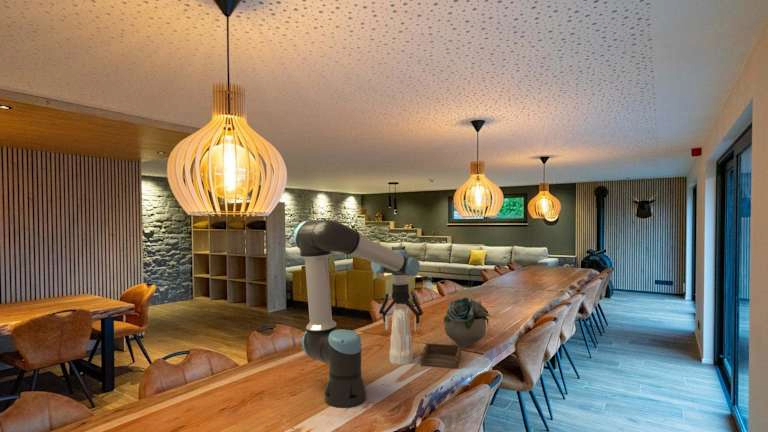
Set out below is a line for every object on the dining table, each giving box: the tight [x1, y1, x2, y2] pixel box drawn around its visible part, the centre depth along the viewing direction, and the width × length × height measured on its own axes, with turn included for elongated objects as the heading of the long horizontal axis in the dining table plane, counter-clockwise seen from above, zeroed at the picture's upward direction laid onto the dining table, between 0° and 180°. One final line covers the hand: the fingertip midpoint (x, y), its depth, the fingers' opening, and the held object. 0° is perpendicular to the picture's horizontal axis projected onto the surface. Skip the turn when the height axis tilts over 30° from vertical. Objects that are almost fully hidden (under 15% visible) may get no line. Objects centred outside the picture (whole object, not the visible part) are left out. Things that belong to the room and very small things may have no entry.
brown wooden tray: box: [420, 343, 462, 370], centre depth 186 cm, size 17×16×5 cm
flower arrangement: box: [443, 297, 491, 348], centre depth 210 cm, size 25×25×24 cm
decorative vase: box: [388, 304, 414, 366], centre depth 187 cm, size 11×11×25 cm
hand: (401, 329), depth 187 cm, fingers open, 13 cm apart
